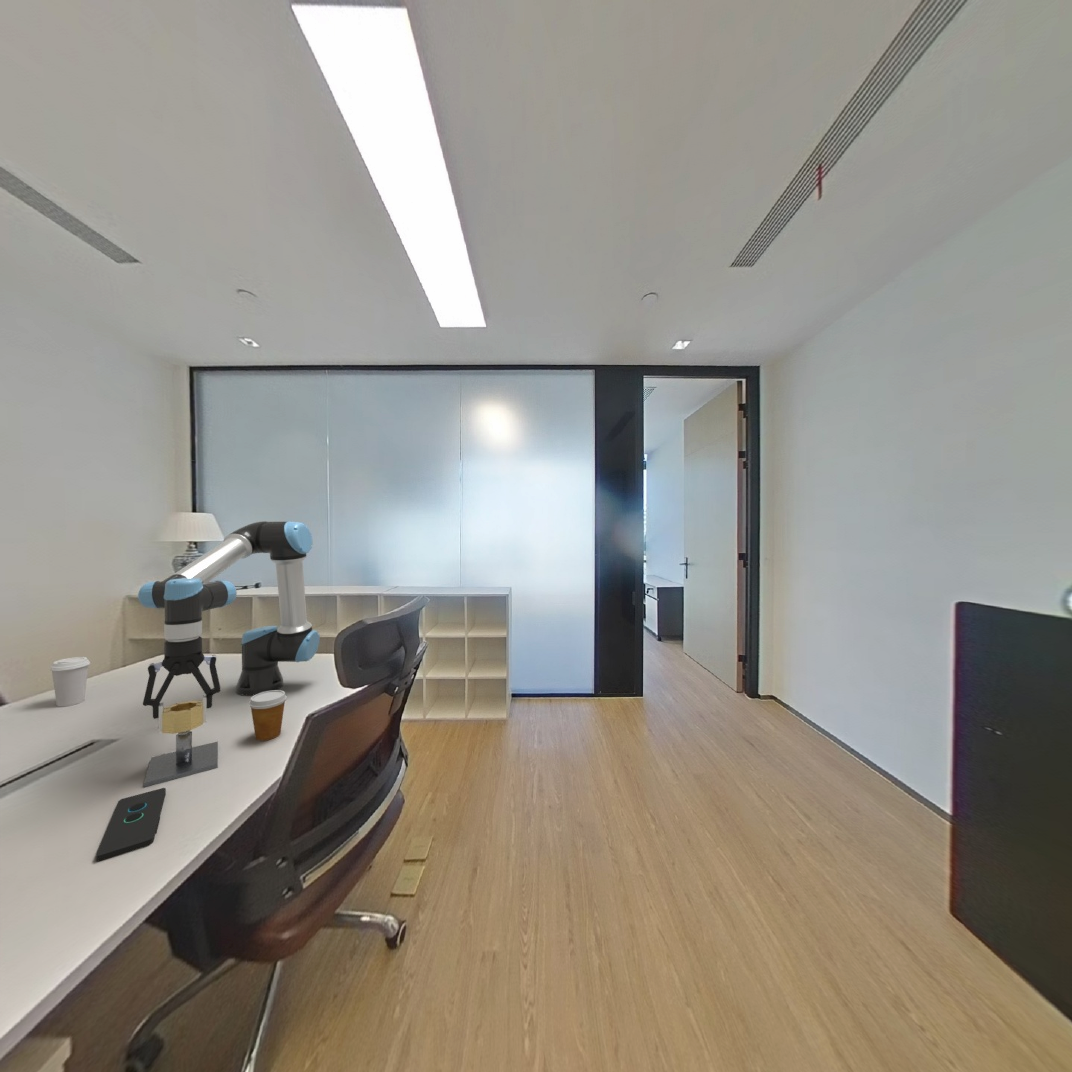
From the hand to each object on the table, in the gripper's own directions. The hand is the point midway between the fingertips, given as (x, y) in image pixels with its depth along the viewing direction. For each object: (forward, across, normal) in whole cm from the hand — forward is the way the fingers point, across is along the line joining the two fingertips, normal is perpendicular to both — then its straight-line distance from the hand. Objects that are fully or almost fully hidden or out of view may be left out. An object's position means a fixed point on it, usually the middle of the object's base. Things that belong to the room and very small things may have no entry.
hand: (183, 725), depth 109 cm
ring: (0, 0, 0) cm, 0 cm away
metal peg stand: (+10, 0, 0) cm, 10 cm away
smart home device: (+11, +7, +22) cm, 26 cm away
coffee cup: (+10, +34, -72) cm, 80 cm away
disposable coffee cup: (+11, -19, -5) cm, 22 cm away
